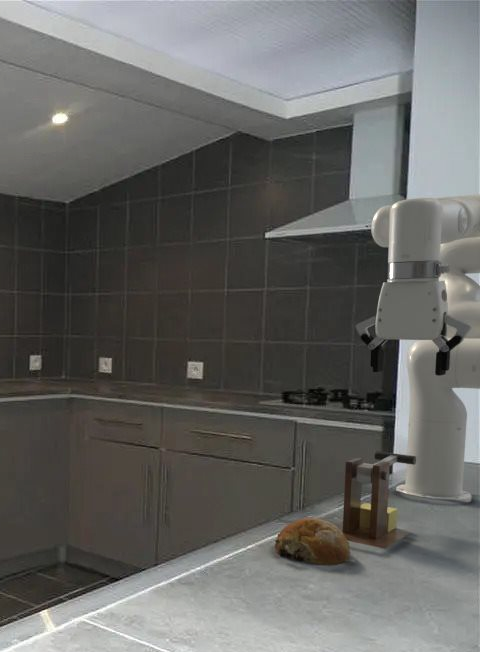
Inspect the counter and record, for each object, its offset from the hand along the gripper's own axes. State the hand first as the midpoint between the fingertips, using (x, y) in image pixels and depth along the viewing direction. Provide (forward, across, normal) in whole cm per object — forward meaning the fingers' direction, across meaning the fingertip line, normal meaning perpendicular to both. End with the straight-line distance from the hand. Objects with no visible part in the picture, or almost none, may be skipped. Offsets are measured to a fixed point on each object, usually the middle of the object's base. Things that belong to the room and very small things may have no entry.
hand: (408, 373), depth 124 cm
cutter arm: (+16, 0, +11) cm, 19 cm away
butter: (+24, 0, +13) cm, 28 cm away
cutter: (+26, 0, +18) cm, 31 cm away
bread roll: (+25, +1, +34) cm, 42 cm away
